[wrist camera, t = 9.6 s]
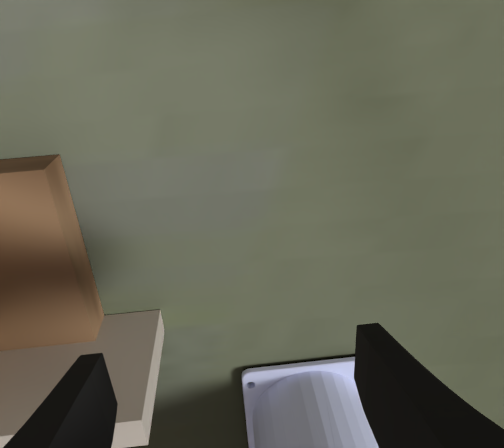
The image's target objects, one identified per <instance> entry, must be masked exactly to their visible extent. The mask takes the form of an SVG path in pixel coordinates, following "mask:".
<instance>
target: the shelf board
mask: <svg viewBox="0 0 504 448" xmlns="http://www.w3.org/2000/svg"><path fill="white" fill-rule="evenodd" d="M164 332H165V331H164V326H163V321H162V316H161V311H160V310H152V311H142V312H133V313H123V314H114V315H104V318H103V321H102V323H101V326H100V329H99V332H98V335H97V338H96V341H92V342H83V343H73V344H64V345H54V346H45V347H36V348H26V349H17V350H8V351H0V448H3V447H4V446H5V445H6V444H7V443H8V441H9V440H10V439H11V438H12V437H13V436H14V435H15V434H16V433H17V431H18V430H19V429H20V428H21V427H22V426H23V425H24V424H25V422H26V421H27V420H28V419H29V418H30V416H31V415H32V414H33V413H34V412H35V410H36V409H37V408H38V407H39V406H40V404H41V403H42V402H43V401H44V400H45V398H46V397H47V396H48V395H49V393H50V392H51V391H52V390H53V388H54V387H55V386H56V385H57V383H58V382H59V381H60V380H61V378H62V377H63V376H64V375H65V373H66V372H67V371H68V370H69V368H70V367H71V366H72V365H73V363H74V362H75V361H76V360H77V358H78V357H79V356H80V355H85V354H95V353H103V356H104V359H105V363H106V366H107V369H108V373H109V376H110V380H111V383H112V386H113V390H114V393H115V397H116V400H117V403H118V406H117V414H116V422H115V429H114V436H113V442H112V446H111V448H126V447H135V446H143V445H148V443H149V436H150V429H151V422H152V415H153V408H154V401H155V394H156V387H157V380H158V373H159V366H160V360H161V353H162V346H163V339H164Z"/></svg>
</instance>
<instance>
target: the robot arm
mask: <svg viewBox="0 0 504 448" xmlns="http://www.w3.org/2000/svg"><path fill="white" fill-rule="evenodd" d="M241 376H242V387H243V396H244V406H245V416H246V425H247V435H248V445H249V448H504V429H502V428H501V427H500V426H498V425H497V424H495V423H494V422H493V421H491V420H490V419H488V418H487V417H485V416H484V415H483V414H481V413H480V412H478V411H477V410H476V409H474V408H473V407H472V406H470V405H469V404H468V403H467V402H465V401H464V400H463V399H462V398H460V397H459V396H458V395H457V394H455V393H454V392H453V391H452V390H450V389H449V388H448V387H447V386H446V385H444V384H443V383H442V382H441V381H440V380H439V379H437V378H436V377H435V376H434V375H433V374H432V373H431V372H430V371H428V370H427V369H426V368H425V367H424V366H423V365H422V364H421V363H419V362H418V361H417V360H416V359H415V358H414V357H413V356H412V355H411V354H410V353H409V352H408V351H407V350H406V349H405V348H404V347H402V346H401V345H400V344H399V343H398V342H397V341H396V340H395V339H394V338H393V337H392V336H391V335H390V334H389V333H388V332H387V331H386V330H385V329H384V328H383V327H382V326H381V325H380V324H379V323H373V324H363V325H357V332H356V349H355V357H348V358H339V359H330V360H321V361H312V362H303V363H294V364H285V365H276V366H267V367H258V368H249V369H246V370H244V371H243V372H242V375H241ZM249 382H253V383H249ZM117 406H118V403H117V400H116V397H115V393H114V390H113V386H112V383H111V380H110V376H109V373H108V369H107V366H106V363H105V359H104V356H103V353H95V354H85V355H80V356H79V357H78V358H77V360H76V361H75V362H74V363H73V365H72V366H71V367H70V368H69V370H68V371H67V372H66V373H65V375H64V376H63V377H62V378H61V380H60V381H59V382H58V383H57V385H56V386H55V387H54V388H53V390H52V391H51V392H50V393H49V395H48V396H47V397H46V398H45V400H44V401H43V402H42V403H41V404H40V406H39V407H38V408H37V409H36V410H35V412H34V413H33V414H32V415H31V416H30V418H29V419H28V420H27V421H26V422H25V424H24V425H23V426H22V427H21V428H20V429H19V430H18V431H17V433H16V434H15V435H14V436H13V437H12V438H11V439H10V440H9V441H8V443H7V444H6V445H5V446H4V447H3V448H111V446H112V442H113V436H114V429H115V422H116V414H117Z"/></svg>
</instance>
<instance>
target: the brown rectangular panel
mask: <svg viewBox="0 0 504 448" xmlns="http://www.w3.org/2000/svg"><path fill="white" fill-rule="evenodd" d="M103 318H104V313H103V309H102V305H101V302H100V298H99V295H98V291H97V287H96V284H95V280H94V277H93V273H92V269H91V266H90V262H89V259H88V255H87V251H86V248H85V244H84V241H83V237H82V233H81V230H80V226H79V223H78V219H77V216H76V212H75V208H74V205H73V201H72V198H71V194H70V190H69V187H68V183H67V180H66V176H65V172H64V169H63V165H62V162H61V158H60V155H49V156H37V157H26V158H14V159H2V160H0V351H8V350H17V349H26V348H36V347H45V346H54V345H64V344H73V343H83V342H92V341H96V338H97V335H98V332H99V329H100V326H101V323H102V321H103Z"/></svg>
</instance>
